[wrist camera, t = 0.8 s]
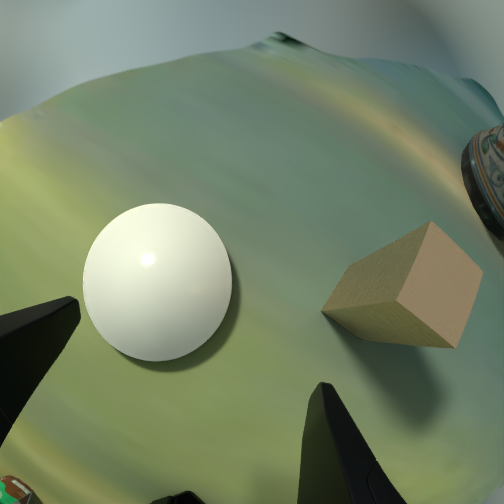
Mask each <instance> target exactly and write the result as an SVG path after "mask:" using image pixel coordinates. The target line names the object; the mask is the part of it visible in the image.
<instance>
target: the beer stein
mask: <svg viewBox="0 0 504 504" xmlns="http://www.w3.org/2000/svg"><path fill="white" fill-rule="evenodd" d="M461 170H462V175H463V180H464V185H465V187H466V190H467V192H468V195H469V197H470V200H471V202H472V205H473V207H474V208H475V210H476V211H477V213H478V215H479V216H480V218H481V219H482V221H483V223H484V224H485V226H486V227H487V228H488V229H489V230H490V231H491V232H492V233H493V234H494V235H495V236H497V237H498V238H499V239H500V240H504V123H503V124H501V125H499V126H496V127H494V128H492V129H489V130H485V131H481V132H478V133H477V134H475V135H474V136H473V137H472V139H471V140H470V142H469V143H468V145H467V146H466V148H465V149H464V151H463V154H462V162H461Z"/></svg>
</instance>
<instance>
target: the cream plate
mask: <svg viewBox="0 0 504 504" xmlns="http://www.w3.org/2000/svg"><path fill="white" fill-rule="evenodd" d="M231 291H232V274H231V267H230V262H229V258H228V255H227V252H226V250H225V247H224V245H223V243H222V241H221V239H220V238H219V236H218V235H217V233H216V232H215V231H214V229H213V228H212V227H211V226H210V225H209V224H208V223H207V222H206V221H205V220H204V219H202V218H201V217H199V216H198V215H197V214H195V213H193V212H191V211H189V210H187V209H185V208H182V207H179V206H175V205H171V204H161V203H160V204H148V205H142V206H139V207H136V208H133V209H131V210H128V211H126V212H124V213H123V214H121V215H119V216H118V217H116V218H115V219H114V220H113V221H111V222H110V223H109V224H108V225H107V226H106V227H105V228H104V229H103V230H102V232H101V233H100V234H99V235H98V237H97V238H96V240H95V242H94V243H93V245H92V247H91V249H90V252H89V254H88V257H87V260H86V263H85V268H84V274H83V294H84V300H85V304H86V308H87V311H88V313H89V316H90V318H91V320H92V322H93V324H94V326H95V327H96V329H97V330H98V332H99V333H100V334H101V335H102V337H103V338H104V339H105V340H106V341H107V342H108V343H109V344H111V345H112V346H113V347H115V348H116V349H117V350H119V351H121V352H122V353H124V354H126V355H128V356H131V357H134V358H137V359H141V360H145V361H166V360H171V359H176V358H179V357H181V356H184V355H186V354H188V353H190V352H192V351H194V350H195V349H197V348H198V347H200V346H201V345H202V344H204V343H205V342H206V341H207V340H208V339H209V338H210V337H211V336H212V335H213V334H214V332H215V331H216V330H217V329H218V327H219V326H220V324H221V322H222V320H223V319H224V317H225V314H226V312H227V309H228V306H229V302H230V298H231Z"/></svg>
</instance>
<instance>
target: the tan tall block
mask: <svg viewBox="0 0 504 504" xmlns="http://www.w3.org/2000/svg"><path fill="white" fill-rule="evenodd" d="M482 275H483V271H482V270H481V269H480V268H479V267H478V266H477V265H476V264H475V262H474V261H473V260H472V259H471V258H470V257H469V256H468V255H467V254H466V253H465V252H464V251H463V250H462V249H461V248H460V247H459V246H458V245H457V244H456V243H455V242H454V241H453V240H451V239H450V238H449V237H448V236H447V235H446V234H445V233H444V232H443V231H442V230H441V229H440V228H439V227H438V226H436V225H435V224H434V223H433V222H432V221H429V222H428V223H426V224H424V225H422V226H421V227H419V228H417V229H416V230H414V231H412V232H410V233H409V234H407V235H405V236H403V237H401V238H400V239H398V240H396V241H394V242H392V243H391V244H389V245H387V246H385V247H383V248H382V249H380V250H378V251H376V252H374V253H372V254H370V255H369V256H367V257H365V258H363V259H361V260H359V261H357V262H355V263H353V264H351V265H350V266H348V268H347V270H346V271H345V273H344V275H343V276H342V278H341V280H340V281H339V283H338V285H337V286H336V288H335V289H334V291H333V293H332V294H331V296H330V298H329V299H328V301H327V302H326V304H325V305H324V307H323V309H322V310H321V311H322V312H323V313H324V314H326V315H327V316H329V317H330V318H332V319H333V320H335V321H336V322H337V323H339V324H340V325H342V326H343V327H345V328H346V329H348V330H349V331H350V332H352V333H353V334H355V335H356V336H358V337H359V338H361V339H362V340H368V341H376V342H385V343H394V344H404V345H414V346H426V347H438V348H454V349H456V347H457V345H458V342H459V340H460V338H461V335H462V333H463V330H464V328H465V325H466V323H467V320H468V317H469V315H470V312H471V309H472V306H473V303H474V301H475V298H476V294H477V291H478V288H479V285H480V282H481V278H482Z"/></svg>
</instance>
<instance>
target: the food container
mask: <svg viewBox="0 0 504 504" xmlns="http://www.w3.org/2000/svg"><path fill="white" fill-rule="evenodd" d="M32 492H33V490H32V489H31V488H30V487H29V486H27V485H26V484H25V483H23V482H22V481H21V480H19V479H18V478H15V477H13V476H8V475H7V476H5V477H2V478H0V504H28V503H29V500H30V498H31V495H32Z"/></svg>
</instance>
